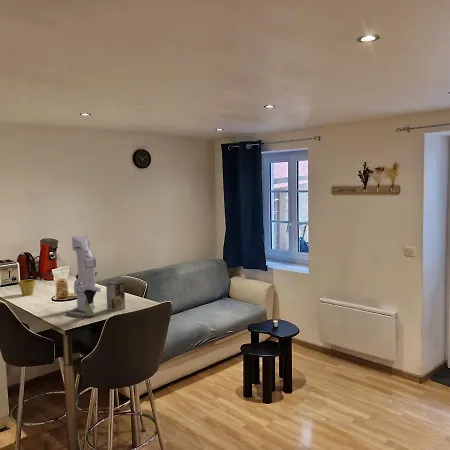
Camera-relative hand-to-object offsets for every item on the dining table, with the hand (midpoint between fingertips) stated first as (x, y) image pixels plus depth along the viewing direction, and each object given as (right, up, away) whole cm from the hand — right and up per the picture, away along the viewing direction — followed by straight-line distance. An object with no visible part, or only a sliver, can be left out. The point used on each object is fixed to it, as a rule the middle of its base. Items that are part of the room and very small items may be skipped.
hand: (90, 303), depth 246 cm
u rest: (-8, -8, +5) cm, 12 cm away
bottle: (-1, -7, +1) cm, 7 cm away
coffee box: (+10, -7, +18) cm, 22 cm away
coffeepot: (-19, -4, +55) cm, 59 cm away
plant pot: (-61, -5, +56) cm, 83 cm away
